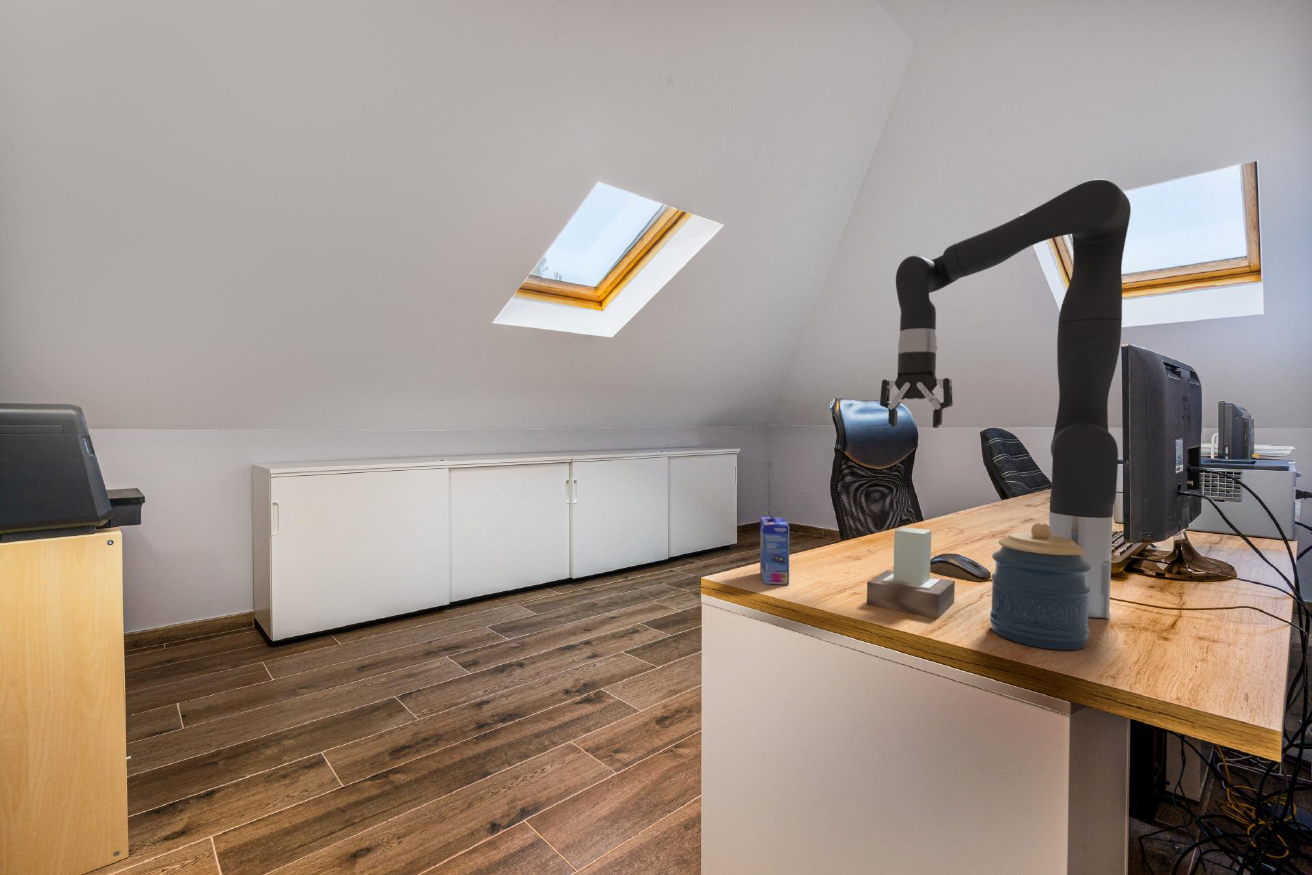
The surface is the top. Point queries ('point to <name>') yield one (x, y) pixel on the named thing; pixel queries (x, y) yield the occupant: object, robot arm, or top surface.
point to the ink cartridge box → (774, 550)
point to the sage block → (912, 555)
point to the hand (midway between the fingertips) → (914, 427)
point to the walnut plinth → (911, 595)
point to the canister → (1041, 590)
